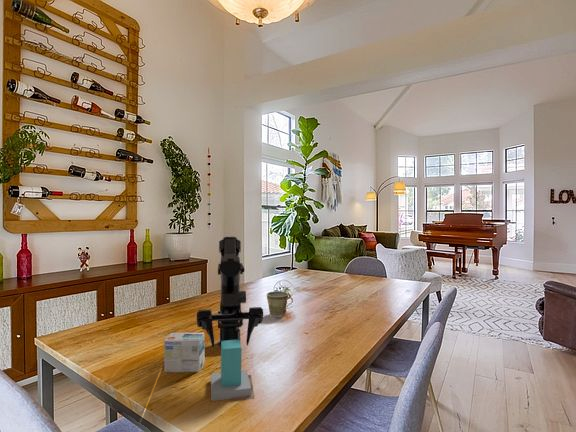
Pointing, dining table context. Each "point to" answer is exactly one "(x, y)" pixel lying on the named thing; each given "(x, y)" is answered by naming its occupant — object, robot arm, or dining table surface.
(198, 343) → the light bulb box
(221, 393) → the grey slab
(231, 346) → the teal block
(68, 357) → the dining table surface
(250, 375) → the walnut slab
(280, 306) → the olive mug
